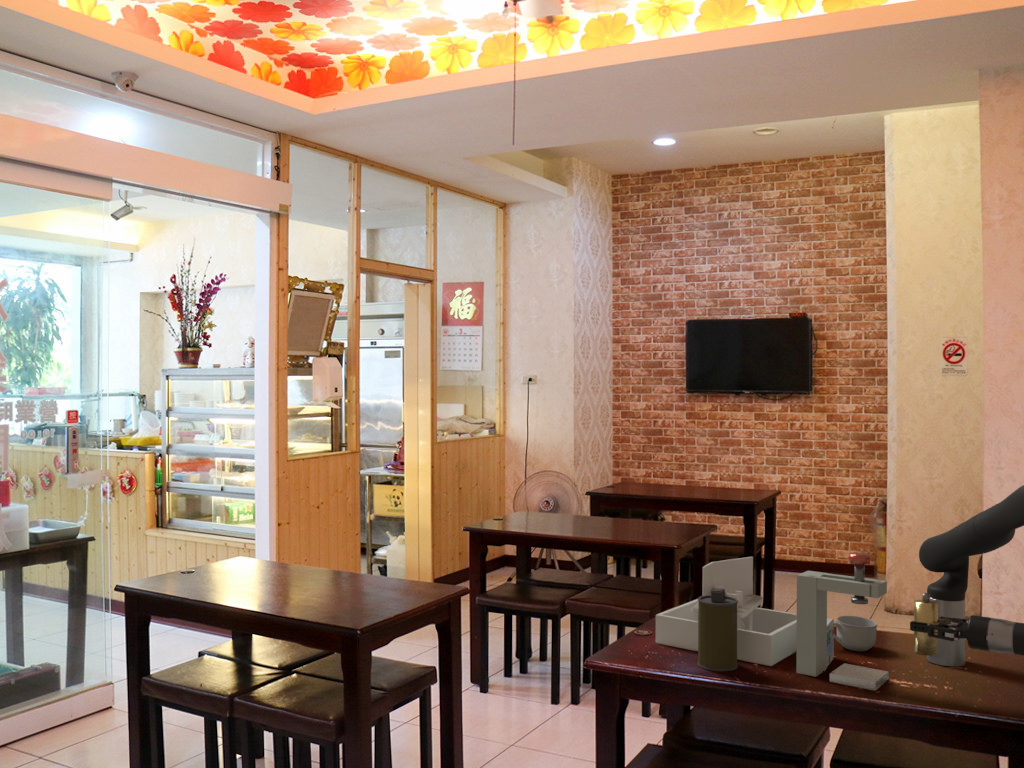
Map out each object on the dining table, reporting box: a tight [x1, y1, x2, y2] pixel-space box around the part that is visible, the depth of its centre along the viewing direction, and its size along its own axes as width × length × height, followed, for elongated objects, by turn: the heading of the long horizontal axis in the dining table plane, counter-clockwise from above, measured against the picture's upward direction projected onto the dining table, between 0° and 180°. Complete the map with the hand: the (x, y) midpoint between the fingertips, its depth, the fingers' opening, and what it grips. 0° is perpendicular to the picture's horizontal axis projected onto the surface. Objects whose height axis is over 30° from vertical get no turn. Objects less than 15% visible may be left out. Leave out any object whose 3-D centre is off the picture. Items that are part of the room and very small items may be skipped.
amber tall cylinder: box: [913, 592, 938, 657], centre depth 214 cm, size 5×5×14 cm
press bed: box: [829, 663, 890, 692], centre depth 225 cm, size 11×11×2 cm
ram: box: [848, 552, 871, 605], centre depth 226 cm, size 5×5×12 cm
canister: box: [696, 588, 739, 672], centre depth 237 cm, size 11×10×20 cm
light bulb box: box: [827, 617, 835, 667], centre depth 242 cm, size 11×7×11 cm, turn 151°
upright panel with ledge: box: [691, 556, 764, 631], centre depth 258 cm, size 28×21×23 cm
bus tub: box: [655, 598, 797, 667], centre depth 258 cm, size 27×34×8 cm
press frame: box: [795, 570, 888, 678], centre depth 228 cm, size 8×20×25 cm, turn 52°
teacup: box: [834, 614, 878, 652], centre depth 254 cm, size 14×11×8 cm
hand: (914, 623), depth 216 cm, fingers closed on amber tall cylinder, 5 cm apart
